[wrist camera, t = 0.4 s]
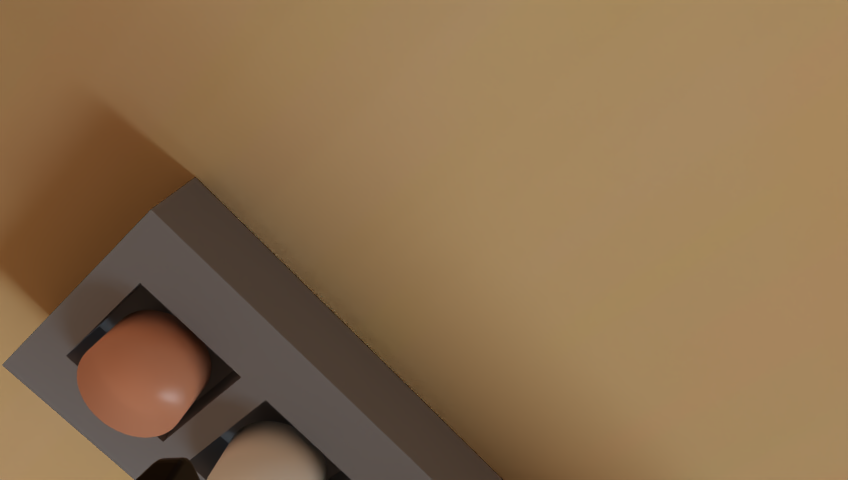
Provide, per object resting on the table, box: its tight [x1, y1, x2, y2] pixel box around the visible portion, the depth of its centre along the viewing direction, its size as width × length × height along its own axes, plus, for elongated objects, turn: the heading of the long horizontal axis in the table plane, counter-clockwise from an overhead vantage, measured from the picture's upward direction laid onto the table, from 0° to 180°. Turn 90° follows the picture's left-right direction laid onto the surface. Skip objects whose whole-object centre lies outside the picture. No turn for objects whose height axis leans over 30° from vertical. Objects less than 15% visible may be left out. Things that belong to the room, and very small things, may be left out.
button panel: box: [3, 177, 502, 480], centre depth 27 cm, size 18×9×3 cm, turn 44°
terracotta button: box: [77, 310, 211, 438], centre depth 25 cm, size 4×4×2 cm
